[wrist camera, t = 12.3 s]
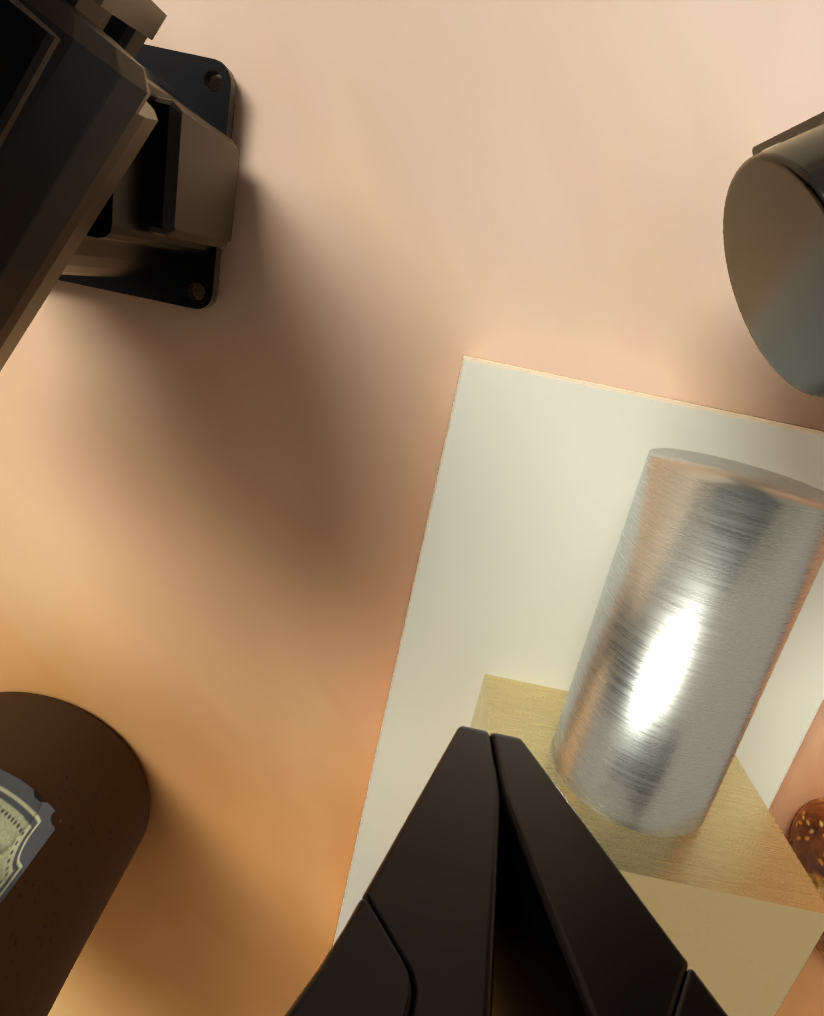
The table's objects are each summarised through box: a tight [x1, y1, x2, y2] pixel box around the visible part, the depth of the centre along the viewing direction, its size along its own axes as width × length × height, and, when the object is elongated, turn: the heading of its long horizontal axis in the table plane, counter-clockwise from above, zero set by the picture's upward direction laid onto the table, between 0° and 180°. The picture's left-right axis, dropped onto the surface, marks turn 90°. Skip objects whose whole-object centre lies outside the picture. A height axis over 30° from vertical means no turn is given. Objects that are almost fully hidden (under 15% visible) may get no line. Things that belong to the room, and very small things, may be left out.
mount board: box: [332, 355, 824, 947], centre depth 23 cm, size 14×28×2 cm, turn 169°
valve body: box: [470, 448, 824, 1016], centre depth 19 cm, size 8×26×7 cm, turn 169°
